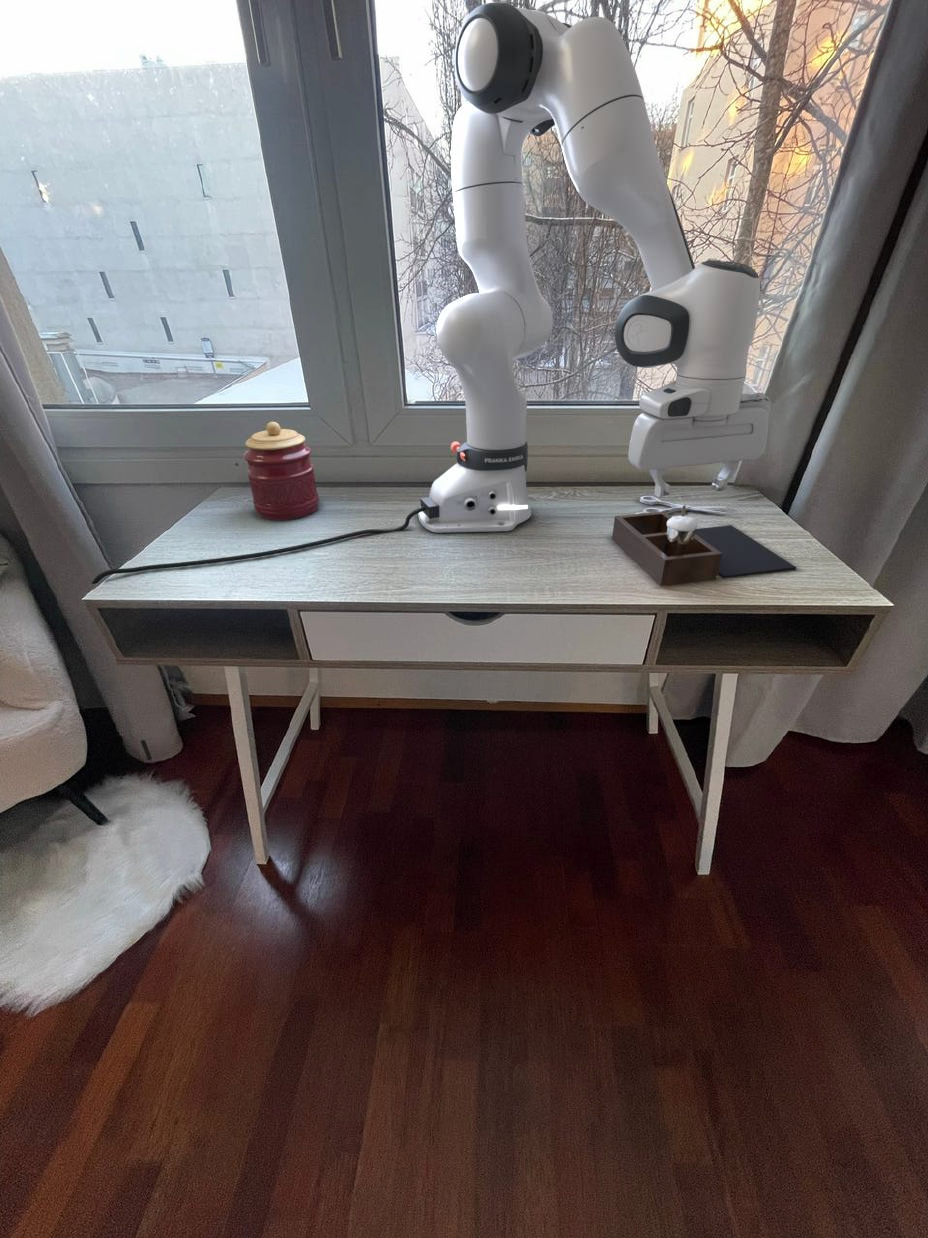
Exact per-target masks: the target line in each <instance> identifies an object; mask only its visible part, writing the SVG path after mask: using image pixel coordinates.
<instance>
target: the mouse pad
mask: <svg viewBox="0 0 928 1238" xmlns="http://www.w3.org/2000/svg"><path fill="white" fill-rule="evenodd" d="M695 534H696V535H698V536H699V537H700V538H702V539H703V540H705V541H706V542H707V543H709V544H710V545H711V546H713V547H714V548H716V549H717V550H718V551H720V552H721V553H722V558H721V562H720V566H719V571H718V575H719V576H720V577H721V578H722V579H728V578H735V577H736V578H737V577H743V576H744V577H745V576H754V575H761V574H769V573H777V572H784V571H785V572H786V571H792V570H793V571H794V570H796V569H797V566H795V565H793V564H792V563H791V562H789V561H787V560H786V559H784V558H783V557H781V556H780V555H778V554H777V553H775V552H773V551H772V550H770V549H769V548H768V547H765V545H763V544H761V543H759V542H758V541H757V540H755V539H754V538H751V537H750V536H749V535H747V534H745V533H744V532H742V531H741V530H740V529H738V528H737V527H735V526H734V525H732V524H731V525H721V526H711V527H710V526H709V527H701V528H697V529H696V532H695ZM718 575H717V576H718Z"/></svg>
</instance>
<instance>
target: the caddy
mask: <svg viewBox="0 0 928 1238" xmlns="http://www.w3.org/2000/svg"><path fill="white" fill-rule="evenodd" d="M672 517H673V516H672V515H671V514H670V513H666V512H665V511H663V512H649V513H643V514H635V513H634V514H624V515H615V516H614V518H613V525H612V526H613V527H612V535H611V541H612V542H613V543H615V544H616V546H617V547H619V549H621V550H622V552H624V553H625V554H626V555H627V556H628V557H629V558H630V559H631V560H633V561H634V563H636V565H638V566H639V567H640V568H641V569H642V570H643V571H644V572H645V573H646V574H647V575H648V576H649V577H650V578H651V579H652V580H653V581H654V582H656V583H657V584H658V586H660V587H665V586H673V585H681V584H687V583H688V584H689V583H698V582H706V581H713V580H714V581H715V580H717V578H718V571H719V566H720V562H721V558H722V553H721V552H720V551H718V550H717V549H716V548H714V547H713V546H711V545H710V544H709V543H707V542H706V541H705V540H703V539H702V538H700V537H699V536H698V535H696V534H695V535H694V538H693V541H692V544H691V548H690V551H689V554H688V555H680V556H671V557H668V556H666V555H665V544H666V525H667V521H668V520H669V519H670V518H672Z"/></svg>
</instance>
